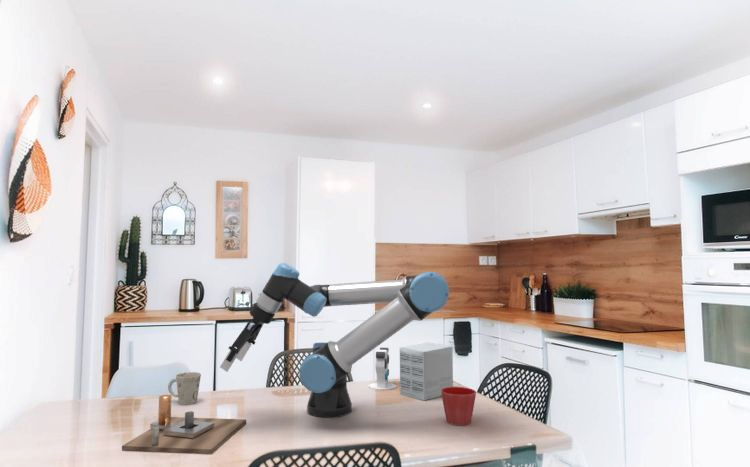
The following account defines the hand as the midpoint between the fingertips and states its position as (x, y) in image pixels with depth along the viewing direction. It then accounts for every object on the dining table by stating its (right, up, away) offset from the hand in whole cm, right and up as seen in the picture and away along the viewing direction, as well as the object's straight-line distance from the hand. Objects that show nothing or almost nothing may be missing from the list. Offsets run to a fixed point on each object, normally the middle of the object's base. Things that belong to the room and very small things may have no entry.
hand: (231, 363), depth 156 cm
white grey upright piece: (+49, -21, +42) cm, 68 cm away
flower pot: (+73, -18, -3) cm, 75 cm away
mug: (-23, -19, +19) cm, 36 cm away
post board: (-8, -17, -16) cm, 24 cm away
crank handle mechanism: (-11, -15, -14) cm, 24 cm away
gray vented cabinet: (+66, -20, +31) cm, 76 cm away
